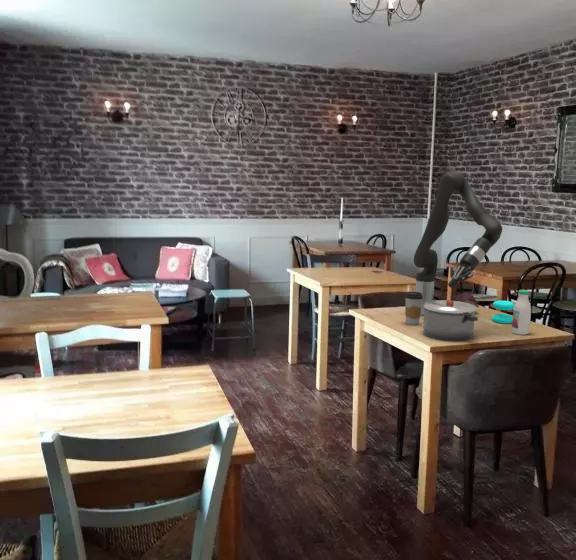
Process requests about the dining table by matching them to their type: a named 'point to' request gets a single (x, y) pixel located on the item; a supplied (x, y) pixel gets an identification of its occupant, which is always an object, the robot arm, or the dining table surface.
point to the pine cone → (465, 298)
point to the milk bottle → (521, 314)
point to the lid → (450, 306)
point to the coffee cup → (413, 307)
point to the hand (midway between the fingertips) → (450, 286)
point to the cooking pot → (448, 325)
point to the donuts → (503, 317)
